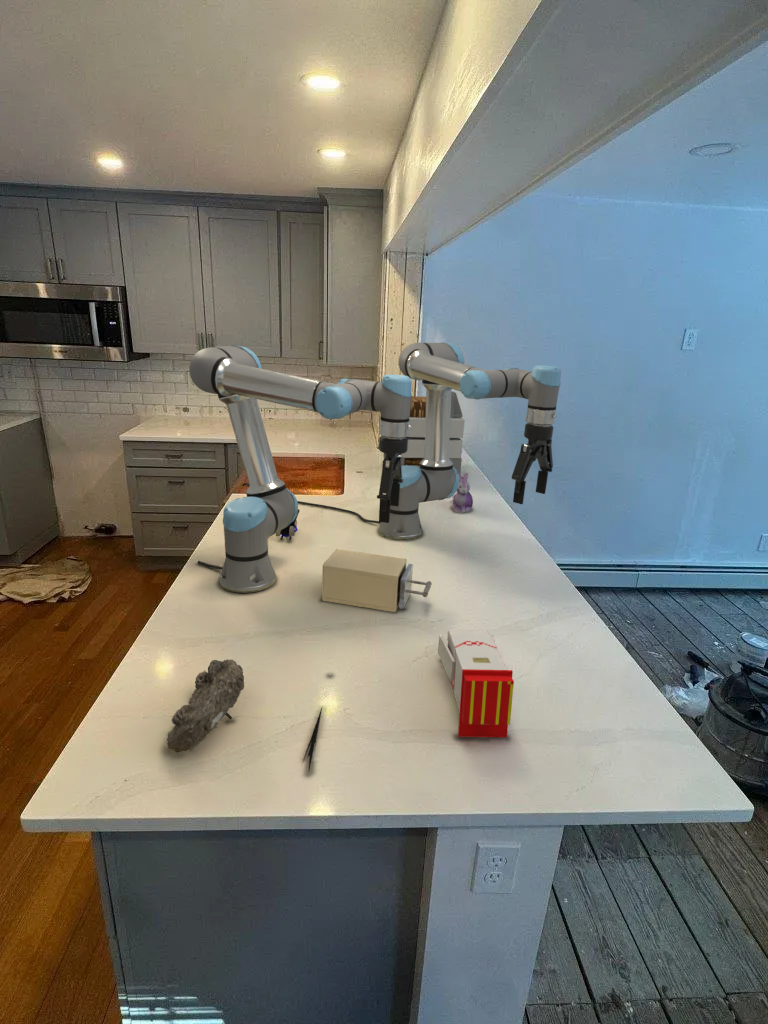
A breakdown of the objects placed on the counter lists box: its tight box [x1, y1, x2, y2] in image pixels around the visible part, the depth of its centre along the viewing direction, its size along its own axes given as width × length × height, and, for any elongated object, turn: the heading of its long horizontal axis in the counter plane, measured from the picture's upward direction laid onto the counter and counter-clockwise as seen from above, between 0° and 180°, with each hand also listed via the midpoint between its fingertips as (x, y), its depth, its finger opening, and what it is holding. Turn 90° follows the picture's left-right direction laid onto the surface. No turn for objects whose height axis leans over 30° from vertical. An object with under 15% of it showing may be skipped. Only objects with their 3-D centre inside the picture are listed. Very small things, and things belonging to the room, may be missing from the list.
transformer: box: [383, 390, 465, 475], centre depth 268 cm, size 34×33×41 cm
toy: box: [437, 628, 515, 738], centre depth 117 cm, size 12×13×30 cm
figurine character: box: [275, 508, 300, 542], centre depth 193 cm, size 7×8×15 cm
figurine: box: [451, 472, 474, 514], centre depth 225 cm, size 9×10×15 cm
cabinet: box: [321, 548, 408, 613], centre depth 154 cm, size 20×11×10 cm, turn 76°
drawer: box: [397, 563, 433, 610], centre depth 153 cm, size 25×10×8 cm, turn 76°
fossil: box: [166, 658, 245, 754], centre depth 106 cm, size 22×10×15 cm
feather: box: [301, 673, 332, 771], centre depth 108 cm, size 2×28×2 cm
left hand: (389, 513), depth 154 cm, fingers open, 13 cm apart
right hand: (529, 497), depth 162 cm, fingers open, 13 cm apart
